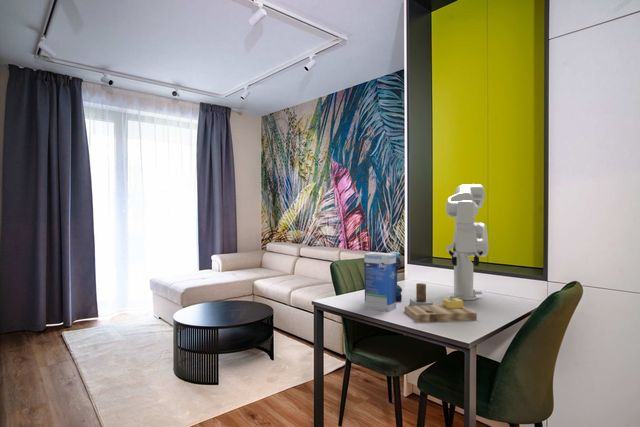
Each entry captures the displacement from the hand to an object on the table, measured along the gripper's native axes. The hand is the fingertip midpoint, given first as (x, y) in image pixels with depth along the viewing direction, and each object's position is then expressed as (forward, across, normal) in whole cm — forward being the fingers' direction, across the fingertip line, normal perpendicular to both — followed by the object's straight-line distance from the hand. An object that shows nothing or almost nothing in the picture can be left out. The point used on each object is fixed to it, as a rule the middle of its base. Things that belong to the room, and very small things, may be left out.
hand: (465, 265), depth 163 cm
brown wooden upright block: (+20, +18, -8) cm, 28 cm away
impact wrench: (+21, +28, -23) cm, 41 cm away
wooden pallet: (+21, +14, +7) cm, 26 cm away
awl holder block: (+21, +18, -8) cm, 28 cm away
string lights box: (+21, +38, -5) cm, 44 cm away
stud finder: (+18, +7, +3) cm, 19 cm away
